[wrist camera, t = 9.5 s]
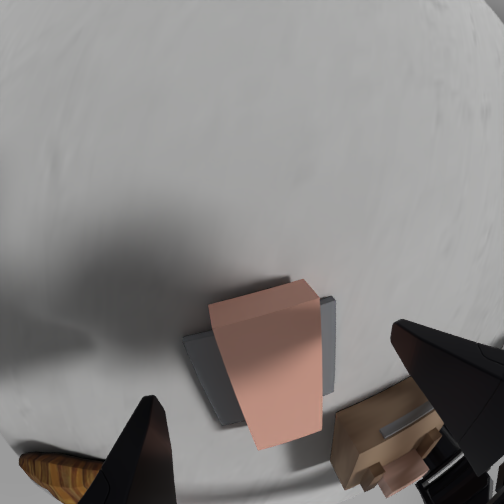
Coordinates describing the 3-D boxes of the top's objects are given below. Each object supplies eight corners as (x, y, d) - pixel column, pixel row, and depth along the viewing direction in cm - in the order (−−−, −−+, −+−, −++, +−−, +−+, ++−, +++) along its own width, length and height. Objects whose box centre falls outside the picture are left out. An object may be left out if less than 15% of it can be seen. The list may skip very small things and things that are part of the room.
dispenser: (438, 357, 18) (488, 407, 12) (412, 419, 22) (443, 461, 16) (336, 410, 17) (379, 486, 10) (329, 460, 21) (356, 513, 14)
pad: (331, 296, 13) (335, 300, 12) (331, 387, 15) (333, 391, 15) (182, 337, 12) (183, 342, 11) (221, 420, 14) (222, 425, 14)
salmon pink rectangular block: (303, 278, 11) (319, 297, 10) (312, 411, 15) (321, 430, 14) (208, 304, 11) (212, 328, 9) (252, 430, 15) (258, 450, 13)
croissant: (125, 446, 14) (124, 505, 10) (158, 479, 17) (162, 526, 12) (2, 432, 12) (-10, 473, 7) (43, 468, 15) (37, 505, 10)
